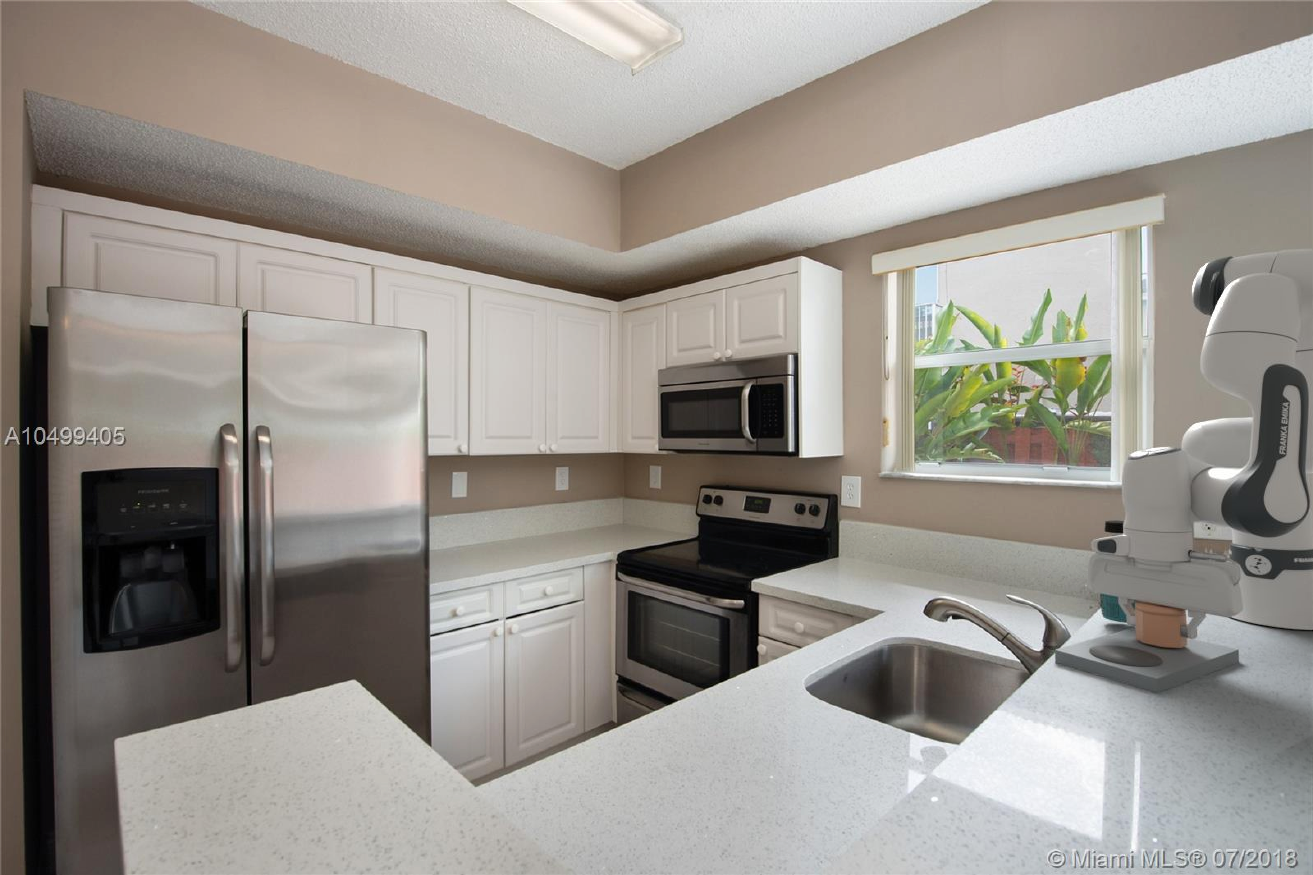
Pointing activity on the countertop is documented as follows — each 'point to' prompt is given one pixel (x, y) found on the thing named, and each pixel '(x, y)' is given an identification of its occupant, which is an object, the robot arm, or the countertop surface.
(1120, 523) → the beverage bottle
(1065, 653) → the mount
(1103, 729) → the countertop surface
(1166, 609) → the knob
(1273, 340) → the robot arm
